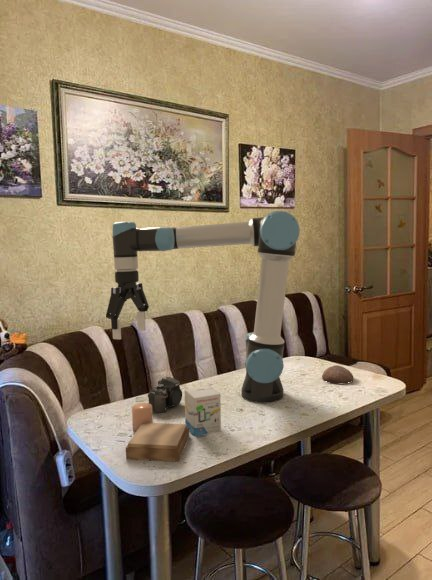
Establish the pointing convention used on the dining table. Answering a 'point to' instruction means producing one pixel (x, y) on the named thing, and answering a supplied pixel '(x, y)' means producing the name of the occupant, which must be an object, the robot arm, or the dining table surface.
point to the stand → (158, 442)
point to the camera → (165, 394)
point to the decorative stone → (337, 375)
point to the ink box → (202, 410)
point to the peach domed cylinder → (141, 415)
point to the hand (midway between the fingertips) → (129, 334)
